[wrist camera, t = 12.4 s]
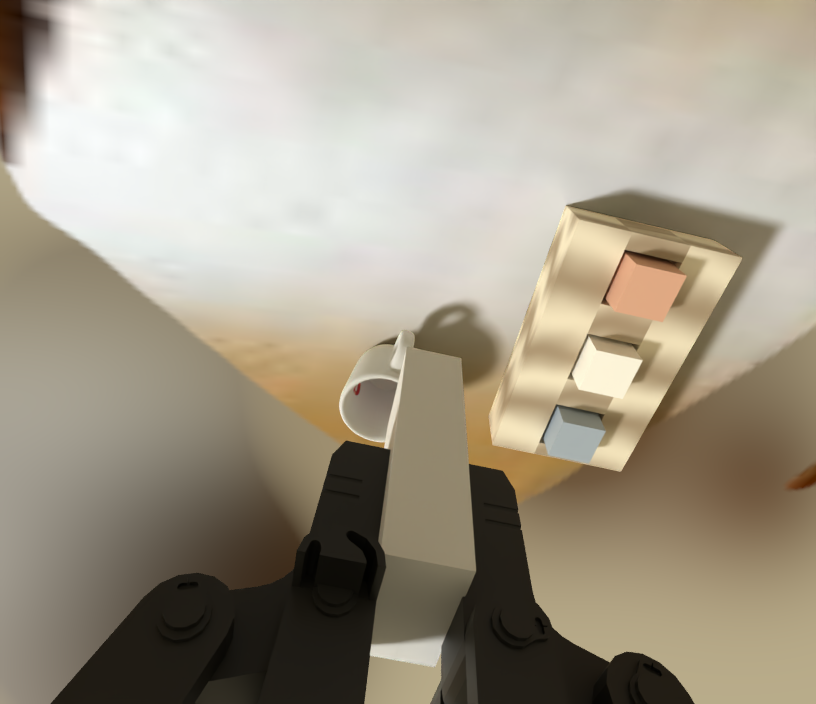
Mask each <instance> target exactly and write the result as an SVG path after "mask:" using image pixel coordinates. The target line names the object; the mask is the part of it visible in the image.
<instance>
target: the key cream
mask: <svg viewBox="0 0 816 704" xmlns="http://www.w3.org/2000/svg"><path fill="white" fill-rule="evenodd" d="M642 361H643V360H642V359H641V357H640V356H639V354H638V353H637V351H636V350H635V349H634V347H633V346H632V344H631V343H628V342H623V341H619V340H614V339H610V338H605V337H601V336H596V335H592V334H587V336H586V338H585V340H584V343H583V345H582V347H581V349H580V352H579V354H578V356H577V358H576V361H575V363H574V365H573V367H572V370H571V373H572V376H573V378H574V380H575V382H576V385H577V387H578V389H579V390H583V391H588V392H592V393H597V394H602V395H606V396H611V397H615V398H620V399H623V397H624V395H625V394H626V392H627V390H628V388H629V386H630V384H631V382H632V380H633V378H634V376H635V374H636V373H637V371H638V369H639V367H640V365H641V363H642Z"/></svg>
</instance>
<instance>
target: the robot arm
mask: <svg viewBox="0 0 816 704" xmlns="http://www.w3.org/2000/svg"><path fill="white" fill-rule="evenodd" d="M520 529H521V523H520V517H519V514H518V506H517V500H516V495H515V490H514V488H513V486H512V485H511V483H510V482H509V480H508V479H507V477H506V475H505V474H504V472H503V471H501V470H496V469H491V468H486V467H481V466H476V465H471V464H469V462H468V447H467V433H466V419H465V404H464V390H463V376H462V361H461V358H459V357H454V356H449V355H445V354H440V353H435V352H431V351H426V350H421V349H417V348H412V347H407V348H406V352H405V356H404V360H403V364H402V368H401V372H400V377H399V381H398V385H397V389H396V393H395V397H394V402H393V406H392V410H391V414H390V418H389V422H388V427H387V434H386V440H385V447H384V448H380V447H375V446H370V445H365V444H360V443H355V442H350V441H345V442H344V443H343V444H342V445H341V446H340V447H339V449H338V450H336V451H335V452H334V453H333V455H332V457H331V461H330V464H329V468H328V471H327V476H326V479H325V482H324V485H323V489H322V492H321V496H320V500H319V503H318V506H317V510H316V513H315V517H314V520H313V524H312V527H311V531H310V533H309V534H308V535H306V536H305V537H304V539H303V541H302V542H301V544H300V546H299V548H298V549H297V553H296V561H295V567H294V569H293V571H291V572H290V573H288V574H287V575H286V576H285V577H284V578H282V579H279V580H277V581H275V582H273V583H271V584H267V585H263V586H258V587H252V588H244V589H236V590H229V589H228V587H227V586H226V585H225V584H224V583H222V582H221V581H220V580H218V579H216V578H215V577H213V576H209V575H204V574H200V573H193V574H184V575H178V576H176V577H173V578H171V579H169V580H166V581H164V582H162V583H160V584H159V585H158V586H156V587H155V588H154V589H153V590H152V591H150V592H149V593H148V594H147V595H146V596H144V598H143V599H142V600H141V601H140V602H139V603H138V604H137V606H136V607H135V608H134V609H133V610H132V611H131V612H130V614H129V615H128V616H127V617H126V618H125V619H124V621H123V622H122V623H121V624H120V625H119V626H118V627H117V629H116V630H115V631H114V632H113V633H112V634H111V635H110V636H109V638H108V639H107V640H106V641H105V642H104V643H103V644H102V646H101V647H100V648H99V649H98V650H97V651H96V652H95V654H94V655H93V656H92V657H91V658H90V659H89V660H88V662H87V663H86V664H85V665H84V666H83V667H82V668H81V670H80V671H79V672H78V673H77V674H76V675H75V676H74V678H73V679H72V680H71V681H70V682H69V683H68V684H67V686H66V687H65V688H64V689H63V690H62V691H61V692H60V694H59V695H58V696H57V697H56V698H55V700H53V702H52V703H51V704H364V701H365V692H366V684H367V675H368V667H369V658H370V656H375V657H381V658H386V659H392V660H398V661H403V662H409V663H415V664H420V665H425V666H431V667H435V666H436V663H437V661H438V659H439V656H440V654H441V659H442V660H441V664H442V665H441V676H442V677H441V681H440V684H439V686H438V688H437V690H436V692H435V695H434V697H433V699H432V701H431V703H430V704H694V702H693V701H692V699H691V697H690V695H689V694H688V692H687V691H686V690H685V688H684V687H683V686H682V685H681V683H680V682H679V681H678V679H677V678H676V676H674V675H673V674H672V673H671V672H670V671H669V670H667V669H666V668H665V667H664V666H663V665H662V664H661V663H659V662H657V661H655V660H653V659H652V658H650V657H648V656H645V655H644V654H640V653H633V652H625V653H622V654H620V655H617V656H615V657H614V658H613V660H612V661H611V662H608V661H606V660H604V659H602V658H600V657H598V656H596V655H594V654H592V653H590V652H588V651H587V650H585V649H583V648H581V647H579V646H577V645H575V644H573V643H572V642H570V641H569V640H567V639H565V638H564V637H562V636H561V635H560V634H559V633H558V632H557V631H555V630H554V629H553V628H552V625H551V623H550V620H549V618H548V617H547V615H546V614H545V613H544V612H543V610H542V609H541V608H540V607H539V605H538V604H537V603H536V602H535V599H534V595H533V591H532V586H531V580H530V574H529V569H528V563H527V557H526V552H525V546H524V540H523V535H522V530H520Z"/></svg>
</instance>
